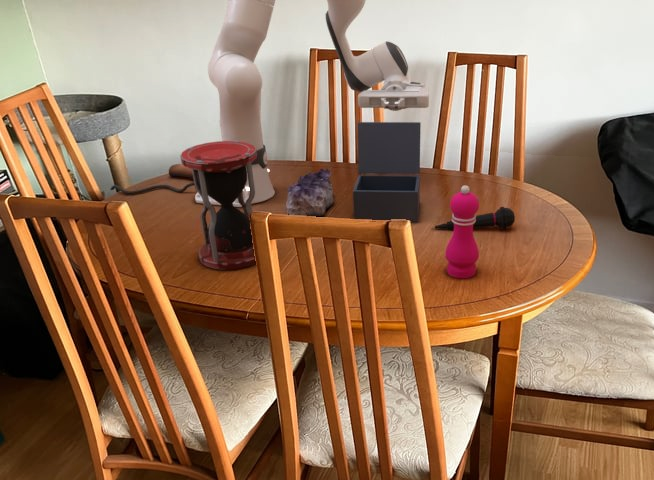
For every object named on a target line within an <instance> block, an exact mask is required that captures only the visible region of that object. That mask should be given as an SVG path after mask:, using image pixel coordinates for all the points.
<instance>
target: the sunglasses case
mask: <svg viewBox="0 0 654 480" xmlns="http://www.w3.org/2000/svg"><path fill="white" fill-rule="evenodd" d="M168 176H169V177H182V178H183V177H184V178H185V177H186V178H191V179H194V178H193V173H192V169H189V168H187V167H185V166H183V164H182V163H176V164H171V166H169V168H168Z"/></svg>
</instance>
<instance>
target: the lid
mask: <svg viewBox="0 0 654 480" xmlns="http://www.w3.org/2000/svg"><path fill="white" fill-rule="evenodd" d="M421 126H422V125H421V122H420V121H357V157H358V159H357V161H358V163H357V164H358V167H357V168H358V174H389V175H420V173H421Z"/></svg>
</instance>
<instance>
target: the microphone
mask: <svg viewBox="0 0 654 480" xmlns="http://www.w3.org/2000/svg"><path fill="white" fill-rule="evenodd" d="M515 218H516V217H515V213H514V211H513V210H512V208H509V207H505V206H500V207H499V208H498V209H496V211H495V212H489V213H483V214H477V215H476V218H475V219H476V222H475V223H474V224H473V229H477V228H490V227H495V226H496V227H498V228H500V229H501V230H503V231H505V230H507V228H510V227H512V226H513V224H514V223H515V220H516V219H515ZM434 229H442V230H443V229H447V230H453V231H454V223H453V222H452V219H451V220H449V221H447V222H445V223H441V224H437V225H434Z"/></svg>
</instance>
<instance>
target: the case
mask: <svg viewBox="0 0 654 480" xmlns="http://www.w3.org/2000/svg"><path fill="white" fill-rule="evenodd" d="M420 181H421V175H420V174H358V176H357V178H356V181H355V184H354V186H353V190H352V206H353V219H354V218H355V219H372V220H391V219H406V220H410V221H411V222H410V223H418V221H419V213H420V204H421V203H420V201H421V200H420V198H421V197H420V194H421V192H420V191H421V190H420V189H421V187H420V186H421V185H420V184H421V183H420Z"/></svg>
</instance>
